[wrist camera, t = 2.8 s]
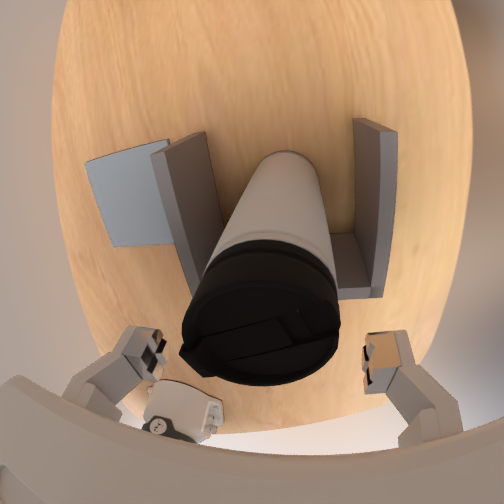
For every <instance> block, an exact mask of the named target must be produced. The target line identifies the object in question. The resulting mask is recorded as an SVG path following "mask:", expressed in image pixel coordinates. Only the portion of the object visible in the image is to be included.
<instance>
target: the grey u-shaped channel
mask: <svg viewBox="0 0 504 504" xmlns="http://www.w3.org/2000/svg"><path fill="white" fill-rule="evenodd" d="M353 132H354V153H355V224H354V233H336V234H329V235H330V240H331V246H332V252H333V258H334V265H335V271H336V280H337V285H338V300H346V299H365V298H381V297H383V292H384V287H385V281H386V276H387V270H388V264H389V257H390V250H391V242H392V234H393V225H394V215H395V203H396V188H397V163H398V132H396V131H394V130H391V129H389V128H387V127H384V126H382V125H380V124H377V123H375V122H372V121H370V120H367V119H362V118H353ZM150 158H151V162H152V166H153V170H154V174H155V178H156V182H157V186H158V189H159V193H160V197H161V200H162V204H163V207H164V211H165V214H166V218H167V221H168V224H169V228H170V231H171V234H172V238H173V241H174V244H175V247H176V250H177V253H178V257H179V260H180V263H181V266H182V269H183V272H184V275H185V278H186V280H187V283H188V286H189V289H190V292H191V295H192V298H193V296H194V294H195V292H196V290H197V288H198V286H199V284H200V282H201V280H202V277H203V274H204V271H205V268H206V266H207V264H208V262H209V260H210V258H211V256H212V254H213V252H214V250H215V248H216V246H217V244H218V242H219V240H220V238H221V236H222V234H223V232H224V230H225V229H224V225H223V220H222V215H221V210H220V206H219V201H218V196H217V191H216V186H215V181H214V176H213V171H212V166H211V161H210V156H209V150H208V145H207V140H206V135H205V132H200V133H194V134H192V135H189V136H187V137H185V138H183V139H181V140H179V141H176V142H174V143H172V144H170V145H168V146H166V147H164V148H162V149H160V150H158V151H156V152H154V153H152V154H150Z"/></svg>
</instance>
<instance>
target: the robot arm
mask: <svg viewBox="0 0 504 504" xmlns="http://www.w3.org/2000/svg"><path fill="white" fill-rule="evenodd" d="M162 337H163V334H162V332H161V330H159V329H152V328H145V327H138V326H131V325H130V326H128V327H127V328H126V329H125V331H124V333H123V334H122V336H121V338H120V339H119V341H118V343H117V344H116V346H115V348H114V350H113V351H112V352H109V353H107V354H106V355H104V356H103V357H101V358H100V359H98V360H97V361H95V362H94V363H92V364H91V365H89V366H88V367H86V368H85V369H84V370H82V371H80V372H79V373H77V374H76V375H74V376H73V378H72V379H71V381H70V383H69V384H68V386H67V388H66V390H65V392H64V393H63V395H62V397H60V396H58V395H56V394H54V393H52V392H50V391H48V390H46V389H45V388H43V387H41V386H39V385H37V384H36V383H34V382H32V381H31V380H29V379H27V378H26V377H24V376H22V375H16V376H14V377H13V378H11V379H9V380H8V381H7V382H5V383H4V384H2V385H1V386H0V504H504V417H501V418H499V419H497V420H494V421H492V422H489V423H487V424H484V425H482V426H479V427H476V428H473V429H471V430H467V431H463V427H462V421H461V416H460V411H459V407H458V402H457V400H456V399H454V397H452V396H451V394H449V393H448V392H447V391H446V390H445V389H444V388H443V387H442V386H441V385H440V384H439V383H438V382H437V381H436V380H435V379H434V378H433V377H432V376H431V375H430V374H428V372H426V371H425V370H424V369H423V368H422V367H421V366H420V365H416V364H415V360H414V356H413V352H412V349H411V345H410V341H409V338H408V334H407V332H406V330H398V331H385V332H374V333H367V334H366V337H365V343H366V345H365V346H364V347H363V350H362V370H363V371H364V372H365V376H364V379H363V383H364V393H365V394H377V393H386V395H387V397H388V398H389V399H390V400H391V402H392V403H393V404H394V405H395V407H396V408H397V410H398V411H399V412H400V414H401V415H402V416H403V418H404V419H405V420H406V422H407V423H408V424H409V426H408V427H407V428H406V429H405V430H404V431H403V432H402V433H401V435H400V436H399V437H398V443H399V448H394V449H387V450H381V451H372V452H364V453H353V454H339V455H279V454H264V453H253V452H244V451H236V450H229V449H222V448H216V447H210V446H205V445H200V444H198V443H200V442H202V441H204V440H206V439H208V438H210V436H211V434H216V432H217V426H221V425H223V424H224V416H223V406H222V402H221V401H220V400H218V399H215V398H213V397H210V396H208V395H206V394H204V393H203V392H201V391H199V390H197V389H195V388H193V387H190V386H188V385H185V384H182V383H178V382H174V381H167V380H161V381H159V380H160V378H161V375H162V373H163V371H164V370H163V365H164V364H165V363H167V361H168V359H169V355H170V348H169V345H168V343H167V341H165V340H164V339H163V338H162ZM142 380H148V381H153V382H155V383H154V385H153V387H149V388H148V391H147V392H148V393H149V394H150V395H149V398H148V402H147V405H146V408H145V412H144V415H143V418H144V420H145V422H146V423H145V424H144V425H143V427H142V429H137V428H135V427H132V426H129V425H126V424H123V423H120V422H119V420H120V418H121V416H122V412H121V411H120V410H119V409H118V408H117V407H116V406H115V405H116V404H117V403H118V402H119V401H120V400H122V399H123V398H124V397H125V396H126V395H127V394H128V393H129V392H130V391H132V390H133V389H134V388H135V387H136V386H137V385H138V384H139V383H140V382H141V381H142Z"/></svg>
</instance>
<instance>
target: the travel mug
mask: <svg viewBox="0 0 504 504" xmlns="http://www.w3.org/2000/svg"><path fill="white" fill-rule="evenodd" d="M340 325H341V321H340V311H339V304H338V285H337V280H336V271H335V265H334V258H333V252H332V246H331V240H330V235H329V229H328V224H327V219H326V214H325V208H324V204H323V199H322V194H321V189H320V185H319V180H318V176H317V173H316V170H315V168H314V166H313V165H312V163H311V162H310V161H309V160H308V159H307V158H305V157H304V156H302V155H300V154H298V153H296V152H292V151H278V152H275V153H272V154H270V155H268V156H266V157H265V158H264V159H263V160H262V161H261V162H260V163H259V165H258V166H257V168H256V170H255V172H254V174H253V176H252V177H251V179H250V181H249V183H248V185H247V187H246V189H245V191H244V193H243V195H242V196H241V198H240V200H239V202H238V204H237V206H236V208H235V210H234V212H233V214H232V216H231V218H230V220H229V222H228V224H227V226H226V228H225V230H224V232H223V234H222V236H221V238H220V240H219V242H218V244H217V246H216V248H215V250H214V252H213V254H212V256H211V258H210V260H209V262H208V264H207V266H206V268H205V271H204V274H203V277H202V280H201V282H200V284H199V286H198V288H197V290H196V292H195V294H194V296H193V299H192V301H191V303H190V305H189V307H188V309H187V311H186V314H185V317H184V319H183V322H182V337H183V341H184V344H182V347H181V349H180V352H179V355H180V356H181V357H182V358H183V359H184V360H185V361H186V362H187V363H188V364H189V365H190V366H191V367H192V368H193V369H194V370H195V371H196V372H197V373H198V374H199V375H201V376H202V377H203V378H204V377H214V376H217V377H219V378H222V379H224V380H227V381H230V382H234V383H237V384H242V385H249V386H275V385H282V384H287V383H291V382H294V381H297V380H300V379H303V378H305V377H307V376H309V375H311V374H313V373H314V372H316V371H317V370H319V369H320V368H321V367H323V366H324V365H325V364H326V363H327V362H328V361H329V360H330V359H331V358H332V356H333V355H334V353H335V352H336V350H337V348H338V340H339V328H340Z"/></svg>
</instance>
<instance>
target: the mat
mask: <svg viewBox="0 0 504 504" xmlns="http://www.w3.org/2000/svg"><path fill="white" fill-rule="evenodd" d="M168 145H170V143H169V139H166V140H162V141H157V142H153V143H149V144H145V145H142V146H138V147H134V148H130V149H127V150H123V151H120V152H117V153H113V154H110V155H107V156H104V157H100V158H97V159H94V160H91V161H88V162H86V163H85V167H86V170H87V174H88V177H89V180H90V184H91V187H92V190H93V193H94V196H95V199H96V202H97V205H98V208H99V211H100V213H101V216H102V219H103V222H104V224H105V227H106V230H107V232H108V235H109V237H110V240H111V243H112V245H113V247H126V246H142V245H158V244H174V241H173V238H172V234H171V231H170V228H169V224H168V221H167V218H166V214H165V211H164V207H163V204H162V200H161V197H160V193H159V189H158V186H157V182H156V178H155V174H154V170H153V166H152V162H151V158H150V154H152V153H154V152H156V151H158V150H160V149H162V148H164V147H166V146H168Z"/></svg>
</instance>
